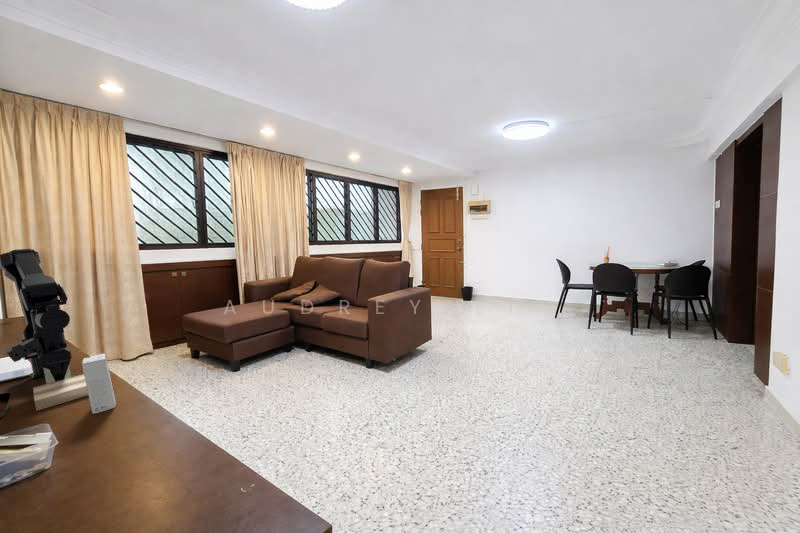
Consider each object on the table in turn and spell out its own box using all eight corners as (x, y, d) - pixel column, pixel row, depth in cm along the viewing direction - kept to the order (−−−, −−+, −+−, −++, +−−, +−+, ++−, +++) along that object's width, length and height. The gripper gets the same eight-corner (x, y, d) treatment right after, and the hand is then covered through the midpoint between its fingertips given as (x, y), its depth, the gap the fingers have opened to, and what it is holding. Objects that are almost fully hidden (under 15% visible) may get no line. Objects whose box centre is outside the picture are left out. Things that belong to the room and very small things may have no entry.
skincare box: (116, 407, 84) (107, 358, 82) (90, 415, 81) (81, 364, 79) (115, 398, 88) (107, 352, 87) (91, 405, 86) (82, 357, 84)
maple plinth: (35, 396, 93) (33, 387, 93) (90, 381, 101) (88, 372, 101) (36, 410, 85) (34, 401, 85) (96, 392, 93) (94, 383, 93)
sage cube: (46, 385, 101) (43, 368, 100) (70, 378, 104) (67, 362, 104) (47, 389, 97) (44, 372, 97) (72, 383, 101) (69, 366, 100)
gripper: (6, 329, 99) (17, 382, 101) (4, 341, 87) (17, 401, 89) (60, 319, 107) (70, 368, 109) (66, 328, 95) (76, 384, 97)
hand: (58, 380), depth 101 cm, fingers open, 9 cm apart
